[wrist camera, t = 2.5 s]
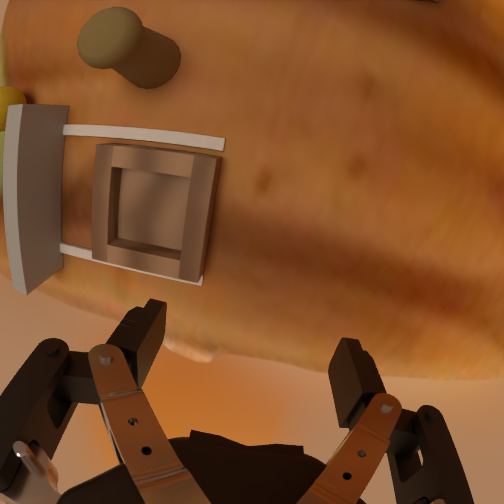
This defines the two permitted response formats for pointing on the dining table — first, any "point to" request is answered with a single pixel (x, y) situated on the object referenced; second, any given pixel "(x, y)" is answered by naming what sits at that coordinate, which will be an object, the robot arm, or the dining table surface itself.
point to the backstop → (53, 186)
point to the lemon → (9, 102)
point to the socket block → (153, 208)
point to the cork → (128, 48)
